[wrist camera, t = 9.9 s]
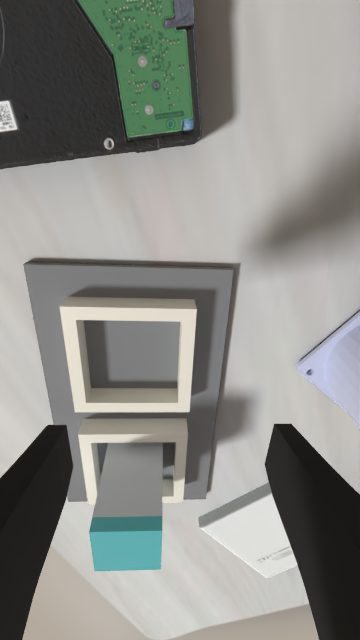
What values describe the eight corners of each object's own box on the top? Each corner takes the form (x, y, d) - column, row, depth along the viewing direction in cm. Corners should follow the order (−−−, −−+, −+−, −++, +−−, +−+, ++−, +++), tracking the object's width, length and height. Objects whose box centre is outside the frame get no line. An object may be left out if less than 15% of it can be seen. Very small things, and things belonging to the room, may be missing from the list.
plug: (161, 469, 25) (160, 569, 19) (112, 469, 25) (94, 571, 18) (162, 433, 23) (162, 530, 17) (110, 433, 23) (89, 532, 17)
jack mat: (205, 493, 27) (205, 499, 27) (69, 496, 27) (68, 501, 26) (232, 267, 18) (233, 269, 18) (26, 262, 17) (23, 264, 17)
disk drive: (-76, 185, 16) (200, 144, 16) (-121, 187, 14) (206, 139, 13) (-211, -109, 12) (172, -177, 11) (-318, -188, 9) (173, -280, 9)
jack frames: (182, 485, 26) (183, 502, 24) (92, 486, 25) (88, 504, 24) (194, 299, 18) (196, 309, 17) (67, 296, 18) (59, 306, 17)
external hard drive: (270, 474, 27) (326, 534, 32) (197, 512, 29) (260, 563, 34) (275, 491, 26) (334, 552, 31) (198, 530, 28) (265, 581, 32)
